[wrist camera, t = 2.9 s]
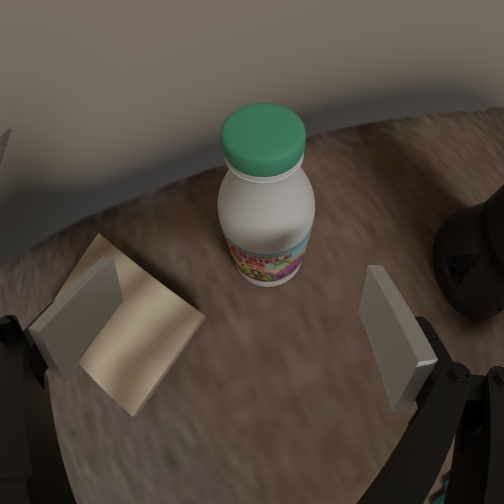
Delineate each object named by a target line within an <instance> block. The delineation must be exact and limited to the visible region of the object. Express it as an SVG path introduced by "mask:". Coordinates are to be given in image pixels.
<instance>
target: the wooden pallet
mask: <svg viewBox="0 0 504 504" xmlns="http://www.w3.org/2000/svg"><path fill="white" fill-rule="evenodd" d="M102 257H114V261H115V266H116V270H117V275H118V279H119V283H120V287H121V291H122V295H123V299H124V301H123V302H122V303H121V305H120V306H119V307H118V309H117V310H116V311H115V313H114V314H113V315H112V317H111V318H110V319H109V321H108V322H107V323H106V325H105V326H104V327H103V329H102V330H101V331H100V333H99V334H98V336H97V337H96V338H95V340H94V341H93V343H92V344H91V345H90V347H89V348H88V350H87V351H86V352H85V354H84V355H83V357H82V358H81V360H80V361H79V362H78V363H79V364H80V365H81V367H82V368H83V369H84V370H85V371H86V372H87V373H88V374H89V375H90V376H91V377H92V378H93V379H94V380H95V381H96V382H97V383H98V384H99V385H100V386H101V387H102V388H103V389H104V390H105V391H106V392H107V393H108V394H109V395H110V396H111V397H112V398H113V399H114V400H115V401H116V402H117V403H118V404H119V405H120V406H122V407H123V408H124V409H125V410H126V411H127V412H128V413H129V414H131V415H132V416H135V415H137V414H139V413H140V411H141V410H142V409H143V407H144V406H145V404H146V403H147V401H148V400H149V399H150V397H151V396H152V394H153V393H154V391H155V390H156V389H157V387H158V386H159V384H160V383H161V381H162V380H163V378H164V377H165V376H166V374H167V373H168V371H169V370H170V368H171V367H172V366H173V364H174V363H175V361H176V360H177V358H178V357H179V355H180V354H181V353H182V351H183V350H184V348H185V347H186V345H187V344H188V343H189V341H190V340H191V338H192V337H193V335H194V334H195V332H196V331H197V330H198V328H199V327H200V325H201V324H202V322H203V321H204V320H205V318H206V317H207V316H205V315H204V314H202V313H201V312H200V311H199V310H197V309H196V308H195V307H193V306H192V305H190V304H189V303H188V302H186V301H185V300H183V299H182V298H181V297H179V296H177V295H176V294H175V293H173V292H172V291H171V290H169V289H168V288H167V287H165V286H164V285H163V284H162V283H161V282H159V281H158V280H157V279H156V278H154V277H153V276H152V275H150V274H149V273H148V272H146V271H145V270H144V269H142V268H141V267H140V266H138V265H137V264H136V263H135V262H133V261H132V260H131V259H130V258H129V257H128V256H126V255H125V254H124V253H123V252H121V251H120V250H119V249H118V248H116V247H115V246H114V245H113V244H111V243H110V242H109V241H108V240H107V239H105V238H104V237H103V236H102V235H101V234H99V233H98V235H97V236H96V238H95V239H94V240H93V242H92V243H91V245H90V246H89V247H88V249H87V250H86V252H85V253H84V255H83V256H82V257H81V259H80V260H79V262H78V263H77V265H76V266H75V268H74V269H73V271H72V272H71V274H70V275H69V277H68V279H67V280H66V282H65V283H64V285H63V286H62V288H61V290H60V291H59V293H58V295H57V296H56V298H55V300H57V299H58V298H59V297H60V296H61V295H62V294H63V293H64V292H65V291H66V290H67V289H68V288H69V287H70V286H71V285H72V284H73V283H74V282H75V281H76V280H78V279H79V278H80V277H81V276H82V275H83V274H84V273H85V272H86V271H87V270H88V269H90V268H91V267H92V266H93V265H94V264H95V263H96V262H97V261H98V260H100V259H101V258H102ZM55 300H54V301H55ZM54 301H53V302H54Z"/></svg>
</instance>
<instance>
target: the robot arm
mask: <svg viewBox="0 0 504 504" xmlns="http://www.w3.org/2000/svg"><path fill="white" fill-rule="evenodd" d="M434 266H435V271H436V275H437V278H438V281H439V284H440V286H441V289H442V291H443V293H444V295H445V296H446V298H447V299H448V301H449V302H450V303H451V305H452V306H453V307H454V308H455V309H456V310H457V311H458V312H460V313H461V314H462V315H464V316H466V317H468V318H471V319H485V318H488V317H492V316H495V315H497V314H499V313H500V312H502V311H503V310H504V185H503V186H502V187H501V188H500V189H499V190H498V191H496V192H495V193H494V194H493V195H492V196H491V197H490V198H489V199H488V200H487V201H486V202H484V203H481V204H477V205H474V206H471V207H469V208H464V209H460V210H458V211H456V212H455V213H453V214H452V215H451V216H450V217H449V218H448V219H447V220H446V221H444V222H443V224H442V225H441V226H440V228H439V230H438V232H437V235H436V238H435V242H434ZM123 301H124V299H123V295H122V291H121V287H120V283H119V279H118V275H117V270H116V266H115V261H114V257H102V258H101V259H100V260H98V261H97V262H96V263H95V264H94V265H93V266H92V267H91V268H90V269H88V270H87V271H86V272H85V273H84V274H83V275H82V276H81V277H80V278H79V279H78V280H76V281H75V282H74V283H73V284H72V285H71V286H70V287H69V288H68V289H67V290H66V291H65V292H64V293H63V294H62V295H61V296H60V297H59V298H58V299H57V300H55V301H54V302H52V303H50V304H49V305H48V306H47V307H46V308H45V309H44V311H42V312H41V313H40V314H39V316H37V317H36V318H35V319H34V320H33V322H32V323H31V324H30V325H29V326H28V327H27V328H26V329H25V330H24V331H23V330H22V328H21V326H20V324H19V322H18V320H17V317H16V316H15V315H11V314H10V315H6V316H3V317H1V318H0V504H77V503H76V501H75V498H74V495H73V492H72V489H71V486H70V483H69V480H68V477H67V473H66V470H65V467H64V463H63V459H62V455H61V451H60V447H59V443H58V439H57V434H56V429H55V424H54V419H53V413H52V406H51V400H50V392H49V384H48V377H47V375H46V373H45V371H46V370H47V369H48V368H49V370H50V372H51V373H52V375H53V377H55V378H57V379H60V380H63V381H66V380H67V379H68V377H69V376H70V374H71V373H72V371H73V370H74V368H75V367H76V365H77V364H78V362H79V361H80V360H81V358H82V357H83V355H84V354H85V352H86V351H87V350H88V348H89V347H90V345H91V344H92V343H93V341H94V340H95V338H96V337H97V336H98V334H99V333H100V331H101V330H102V329H103V327H104V326H105V325H106V323H107V322H108V321H109V319H110V318H111V317H112V315H113V314H114V313H115V311H116V310H117V309H118V307H119V306H120V305H121V303H122V302H123ZM358 312H359V314H360V317H361V320H362V322H363V325H364V328H365V331H366V333H367V336H368V339H369V342H370V345H371V348H372V351H373V353H374V356H375V359H376V362H377V365H378V368H379V372H380V375H381V378H382V381H383V384H384V387H385V391H386V394H387V397H388V401H389V404H390V407H391V411H392V412H398V411H404V410H409V409H410V408H411V406H412V405H413V403H414V401H416V403H417V406H418V409H417V410H416V412H415V413H414V415H413V416H412V418H411V419H410V421H409V422H408V424H409V425H408V427H407V429H406V431H405V432H404V434H403V436H402V438H401V439H400V441H399V443H398V444H397V446H396V448H395V449H394V451H393V453H392V454H391V456H390V457H389V459H388V460H387V462H386V463H385V465H384V467H383V468H382V469H381V471H380V472H379V474H378V475H377V477H376V478H375V480H374V481H373V482H372V484H371V485H370V486H369V488H368V489H367V491H366V492H365V493H364V494H363V496H362V497H361V498H360V500H359V501H358V502H357V503H356V504H423V503H424V501H425V499H426V497H427V496H428V494H429V492H430V490H431V488H432V486H433V484H434V482H435V480H436V478H437V476H438V474H439V472H440V470H441V467H442V465H443V463H444V461H445V458H446V456H447V454H448V451H449V449H450V446H451V444H452V441H453V439H454V436H455V433H456V436H455V445H454V452H453V459H452V465H451V471H450V476H449V481H448V486H447V490H446V495H445V499H444V503H443V504H504V368H503V367H500V366H494V367H492V368H491V369H490V370H489V371H488V373H487V375H486V376H482V375H472V374H471V373H470V371H469V369H468V368H467V367H466V366H464V365H463V364H461V363H458V362H453V361H452V359H451V357H450V355H449V354H448V352H447V350H446V348H445V347H444V345H443V343H442V342H441V340H439V336H438V335H437V333H435V330H434V328H433V327H432V325H431V323H429V322H428V321H427V320H426V319H425V318H423V317H414V316H413V314H412V312H411V311H410V309H409V307H408V306H407V304H406V302H405V301H404V299H403V297H402V296H401V294H400V293H399V291H398V289H397V288H396V286H395V285H394V283H393V282H392V280H391V279H390V277H389V275H388V274H387V272H386V271H385V269H384V268H383V266H377V265H368V268H367V273H366V278H365V283H364V288H363V293H362V298H361V303H360V307H359V311H358Z"/></svg>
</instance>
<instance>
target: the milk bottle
mask: <svg viewBox="0 0 504 504" xmlns="http://www.w3.org/2000/svg"><path fill="white" fill-rule="evenodd" d="M305 142H306V131H305V127H304V124H303V122H302V120H301V119H300V118H299V116H298V115H297V114H295V113H294V112H293V111H291V110H290V109H288V108H286V107H283V106H280V105H276V104H271V103H257V104H252V105H248V106H244V107H242V108H240V109H238V110H236V111H235V112H233V113H232V114H231V115H230V116H229V117H228V118H227V119H226V120H225V122H224V124H223V126H222V130H221V144H222V148H223V151H224V155H225V161H226V164H227V166H228V167H229V170H228V172H227V173H226V175H225V177H224V179H223V181H222V184H221V186H220V190H219V195H218V215H219V220H220V224H221V227H222V231H223V234H224V236H225V239H226V242H227V245H228V248H229V250H230V253H231V256H232V258H233V261H234V263H235V265H236V267H237V269H238V271H239V273H240V274H241V275H242V276H243V277H244V278H245V279H246V280H248V281H249V282H251V283H253V284H255V285H258V286H263V287H272V286H277V285H281V284H283V283H285V282H287V281H288V280H290V279H291V278H292V277H293V276H294V275H295V274H296V272H297V271H298V269H299V267H300V265H301V262H302V259H303V256H304V253H305V250H306V246H307V243H308V240H309V236H310V232H311V229H312V224H313V219H314V213H315V200H314V193H313V189H312V186H311V184H310V181H309V179H308V177H307V176H306V174H305V172H304V171H303V170H302V168H301V167H300V165H301V164H302V161H303V157H304V148H305Z"/></svg>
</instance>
